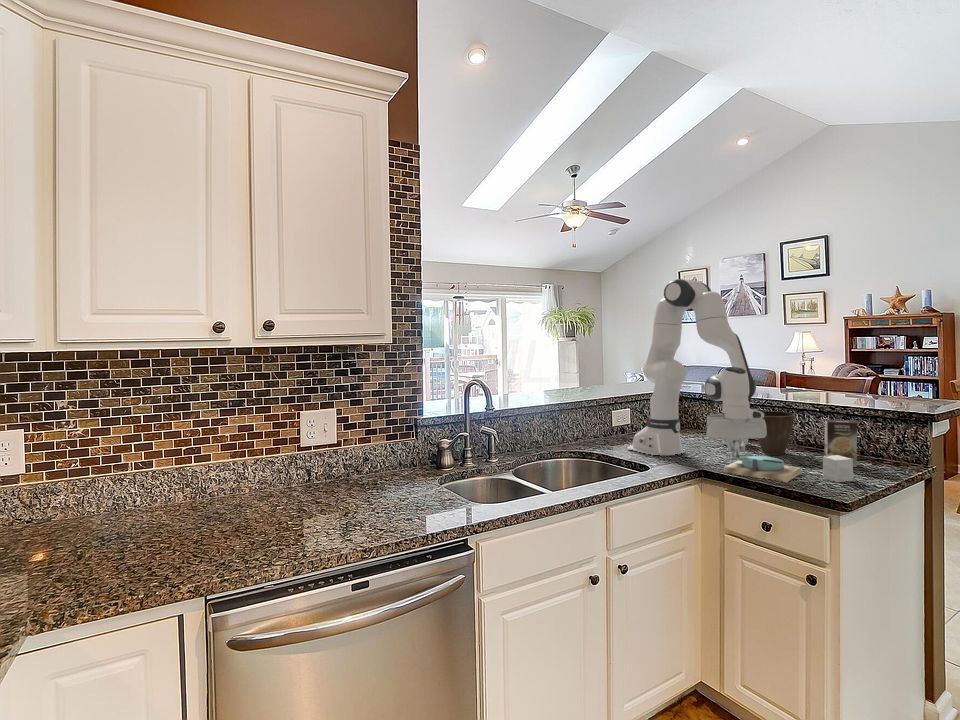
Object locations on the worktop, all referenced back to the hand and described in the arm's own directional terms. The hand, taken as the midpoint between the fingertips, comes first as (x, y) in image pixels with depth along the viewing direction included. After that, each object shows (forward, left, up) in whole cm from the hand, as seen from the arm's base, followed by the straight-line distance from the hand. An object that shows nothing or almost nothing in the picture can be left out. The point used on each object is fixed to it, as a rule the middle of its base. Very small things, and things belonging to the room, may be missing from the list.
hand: (736, 450), depth 194 cm
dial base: (+9, -1, -6) cm, 11 cm away
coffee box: (+26, +27, -7) cm, 38 cm away
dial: (+7, 0, -4) cm, 8 cm away
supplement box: (-17, +41, -7) cm, 45 cm away
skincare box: (+30, +6, -7) cm, 31 cm away
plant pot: (+2, +32, -7) cm, 32 cm away
